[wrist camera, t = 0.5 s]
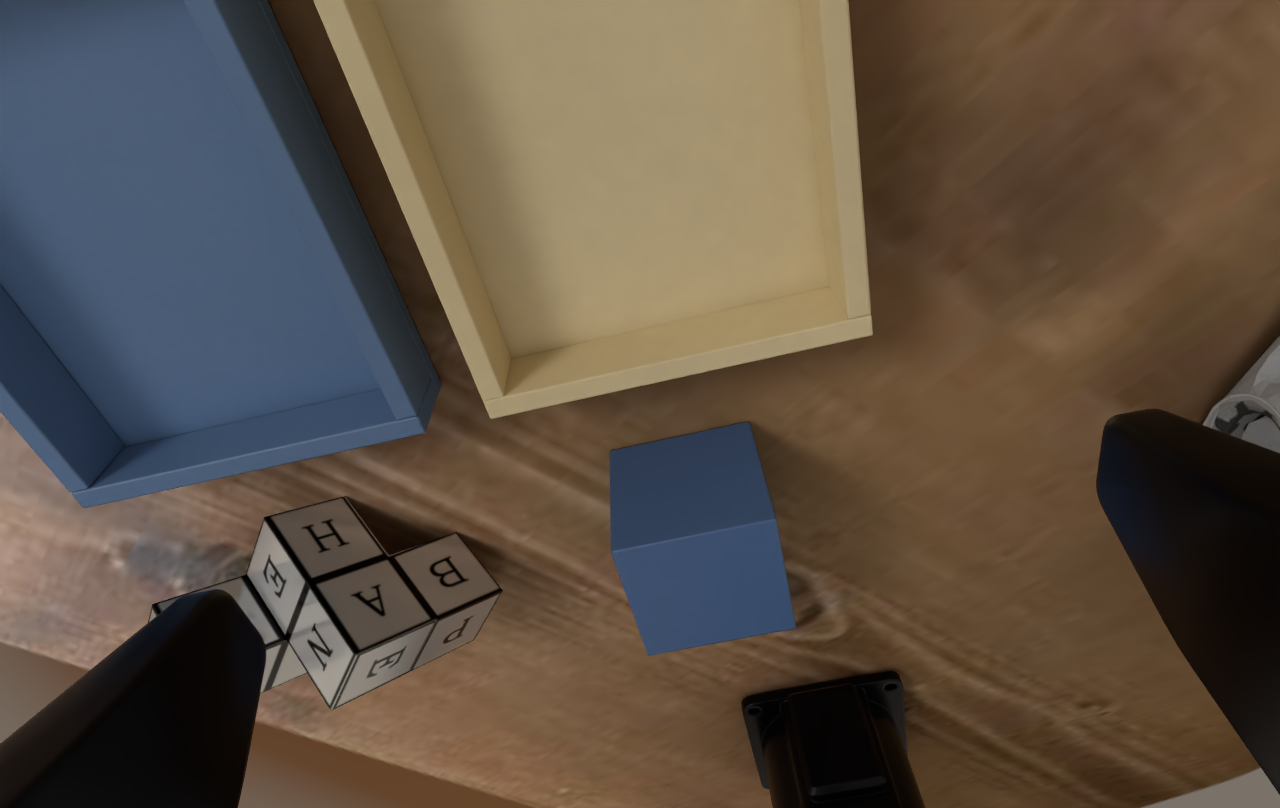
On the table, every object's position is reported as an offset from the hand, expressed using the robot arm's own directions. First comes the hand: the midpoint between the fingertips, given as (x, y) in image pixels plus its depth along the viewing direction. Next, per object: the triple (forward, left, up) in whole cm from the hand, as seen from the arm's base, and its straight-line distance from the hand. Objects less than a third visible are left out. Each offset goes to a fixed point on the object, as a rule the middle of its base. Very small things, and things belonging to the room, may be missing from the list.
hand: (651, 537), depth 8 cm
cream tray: (+1, 0, -14) cm, 14 cm away
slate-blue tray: (+1, +12, -14) cm, 18 cm away
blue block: (-11, 0, -14) cm, 18 cm away
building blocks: (-11, +12, -14) cm, 22 cm away
